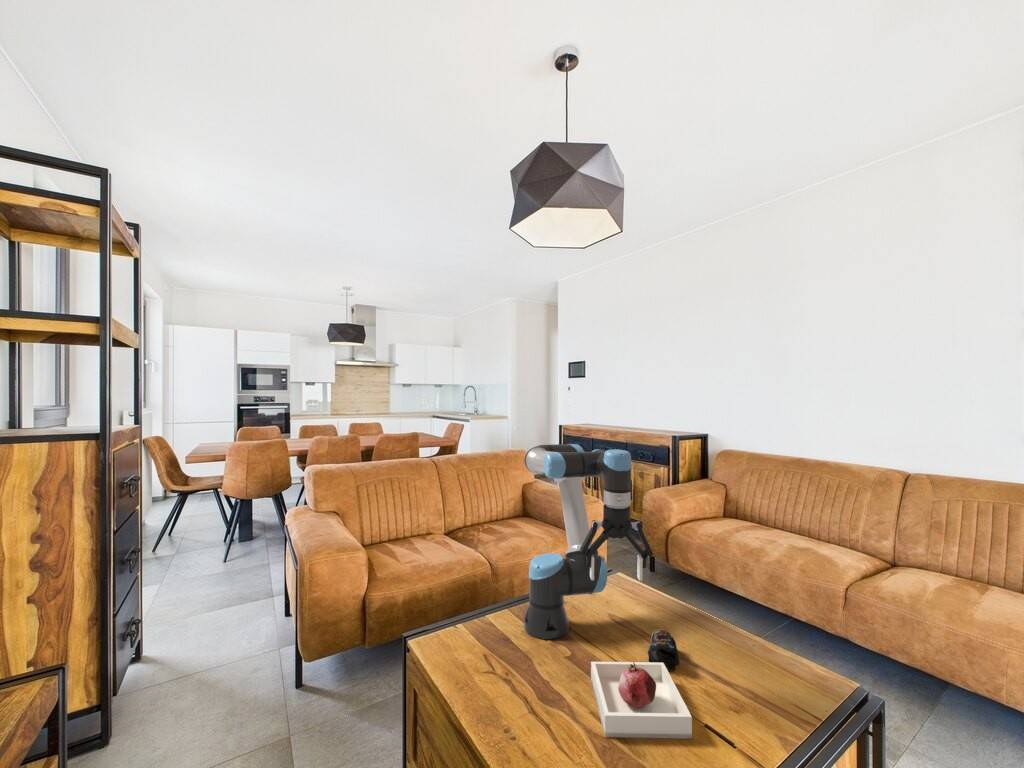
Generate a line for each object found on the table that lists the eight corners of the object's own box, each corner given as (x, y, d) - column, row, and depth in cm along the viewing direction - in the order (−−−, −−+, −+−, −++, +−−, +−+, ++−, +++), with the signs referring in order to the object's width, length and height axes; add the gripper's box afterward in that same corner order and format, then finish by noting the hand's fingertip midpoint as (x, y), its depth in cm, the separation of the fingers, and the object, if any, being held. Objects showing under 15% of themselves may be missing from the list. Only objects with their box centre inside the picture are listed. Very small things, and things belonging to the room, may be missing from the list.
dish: (605, 737, 101) (605, 715, 101) (591, 679, 121) (591, 661, 121) (691, 738, 101) (691, 716, 101) (663, 680, 121) (663, 662, 121)
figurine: (643, 650, 125) (647, 618, 139) (652, 678, 125) (654, 643, 139) (675, 649, 122) (675, 616, 136) (683, 677, 122) (682, 642, 136)
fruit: (663, 703, 111) (663, 663, 111) (642, 722, 104) (642, 680, 105) (631, 684, 118) (631, 647, 118) (610, 701, 111) (610, 662, 111)
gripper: (574, 508, 121) (573, 584, 121) (665, 509, 120) (663, 585, 121) (571, 500, 128) (570, 571, 129) (656, 501, 128) (655, 573, 128)
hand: (615, 578), depth 125 cm, fingers open, 13 cm apart
